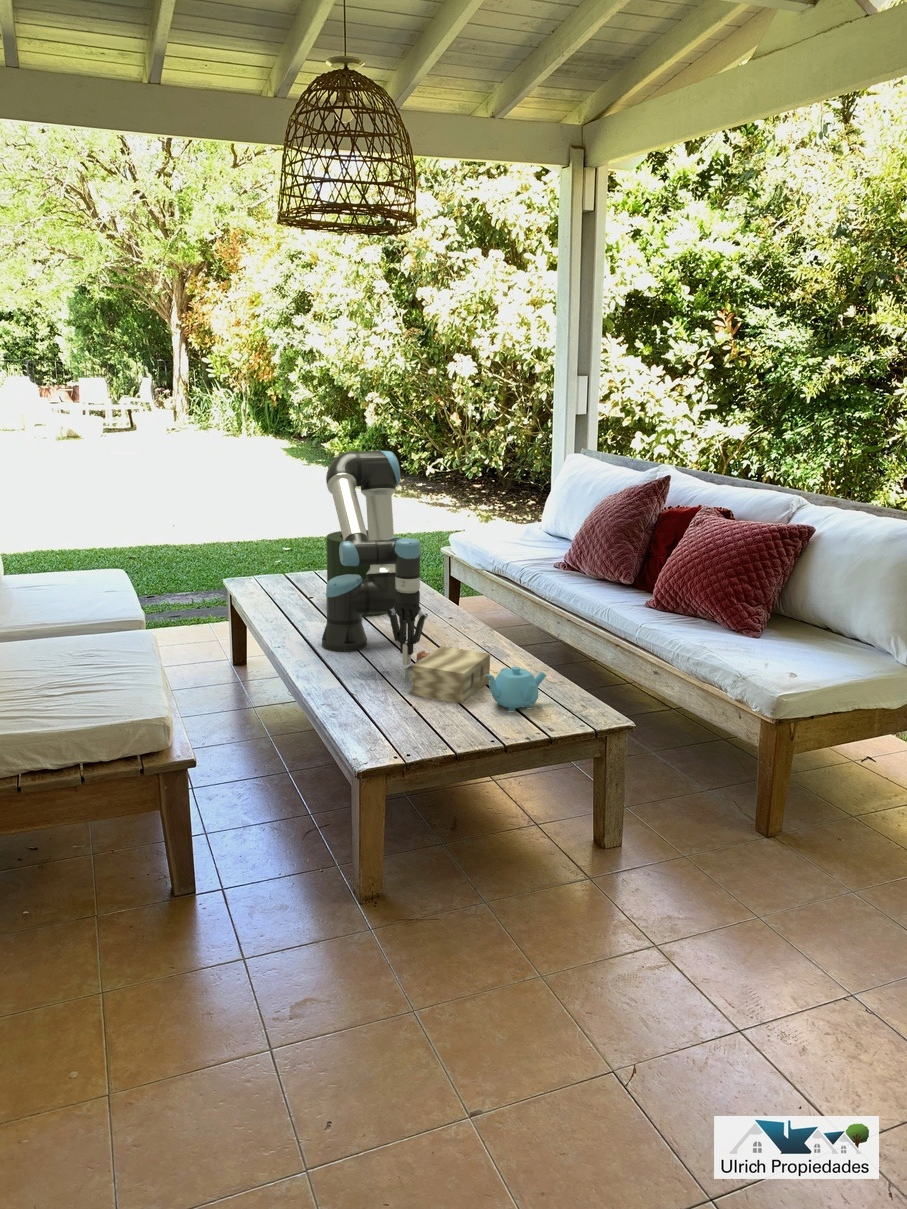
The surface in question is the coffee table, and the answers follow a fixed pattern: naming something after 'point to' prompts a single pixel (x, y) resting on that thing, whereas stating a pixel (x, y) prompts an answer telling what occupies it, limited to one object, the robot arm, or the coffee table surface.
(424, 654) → the terracotta plug
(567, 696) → the coffee table surface
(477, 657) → the socket block
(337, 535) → the flower pot
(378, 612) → the robot arm
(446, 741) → the coffee table surface
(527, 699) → the teapot
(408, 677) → the grey plug near
